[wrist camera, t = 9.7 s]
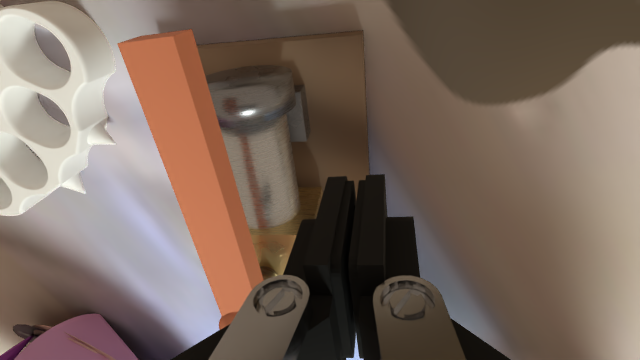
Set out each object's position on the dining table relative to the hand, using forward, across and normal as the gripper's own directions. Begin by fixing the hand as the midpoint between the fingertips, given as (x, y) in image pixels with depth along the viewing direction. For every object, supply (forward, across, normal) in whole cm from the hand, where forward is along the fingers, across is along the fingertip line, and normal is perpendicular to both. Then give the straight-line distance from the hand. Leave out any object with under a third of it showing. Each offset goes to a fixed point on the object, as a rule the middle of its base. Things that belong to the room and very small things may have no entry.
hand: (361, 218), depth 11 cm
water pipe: (+13, +7, +8) cm, 16 cm away
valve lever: (+4, +7, +2) cm, 8 cm away
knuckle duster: (+14, +25, -2) cm, 29 cm away
